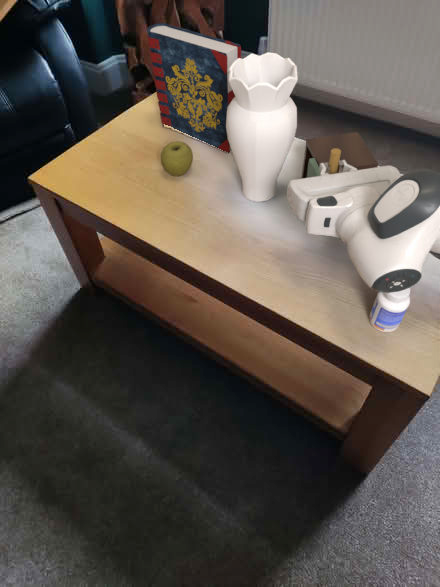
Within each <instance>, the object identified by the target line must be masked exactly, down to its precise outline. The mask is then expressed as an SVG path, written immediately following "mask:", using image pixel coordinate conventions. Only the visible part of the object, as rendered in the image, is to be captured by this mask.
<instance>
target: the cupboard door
mask: <svg viewBox="0 0 440 587" xmlns="http://www.w3.org/2000/svg"><path fill="white" fill-rule="evenodd" d="M340 155H341V150H340V149H337V148H334V149H332V150H331V154H330V159H329V165H330V167H331V168H330V170H329V171H330V173H329V174H336V173H337V169H338V164H339V159H340ZM320 174H321V173H320V171H319V166H318V164H317V162H316V160H315V158H310V159H309V163H308V170H307V177H306V178H309V177H316V176H320Z"/></svg>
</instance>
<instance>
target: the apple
mask: <svg viewBox="0 0 440 587" xmlns="http://www.w3.org/2000/svg"><path fill="white" fill-rule="evenodd" d="M193 159H194V156H193V151H192V148H191V147H190V146H189V145H188V144H187V143H185V142H182V141H172V142H169V143H167V144H165V146H164V147H163V148H162V150H161V152H160V162H161V166H162V167H163V169H164V171H165V172H166V173H168V174H169V175H170V176H173V177H180V176H184V175H185V174H187V173H188V172H189V170H190V169H191V168H192V165H193V161H194V160H193Z"/></svg>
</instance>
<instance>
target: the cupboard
mask: <svg viewBox="0 0 440 587" xmlns="http://www.w3.org/2000/svg"><path fill="white" fill-rule="evenodd" d="M304 146H305V147H304V155H303V162H302V168H301V176H300V179H302V178H306V177H307V170H308V163H309V159H310V158H315V160H316V162H317V164H318V166H319V167H320V163H326V162H328V163H329V159H330V154H331V150H332V149H334V148H337V149H340V150H341V155H340V159H339V161H340V160H345V161H346V163H347V164H348V165H351V166H353V167H355V168H357V170H362V169H369V168H375V167H379V162H378V161H377V158H376V157H375V156H374V154H373V153H372V151H371V150H370V149H369V147H368V145H367V144H366V143H365V141H364V140H363V137H361V135H360V133H359V132H358V131H355V132H349V133H341V134H333V135H328V136H320V137H314V138H313V137H312V138H307V139H305V145H304ZM337 173H338V172H337Z"/></svg>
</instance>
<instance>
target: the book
mask: <svg viewBox="0 0 440 587" xmlns="http://www.w3.org/2000/svg"><path fill="white" fill-rule="evenodd" d="M146 32H147V33H146V38H147V44H148V47H149V49H148V50H149V51H148V52H149V57H150V61H151V68H152V73H153V75H154V76H153V80H154V86H155V88H156V89H155V92H156V97H157V100H158V101H157V104H158V110H159V116H160V121H161V123H162V125H163V124H165V125H168V126H171V127H173V128H174V129H177V130H179V131H181V132H183V133H186V134H188V135H190V136H192V137H195V138H197V139H199V140H201V141H204V142H206V143H208V144H210V145H213V146H215V147H217V148H219V149H221V150H223V151H222V152H224V151H226V152H225V153H227V152H228V153H227V154H230V153H231V147H230V144H229V141H228V137H227V130H226V118H227V108H228V106H229V104H230V103H231V101H232V100H233V98H234V97H235V94H234V92H233V90H232V87H231V85H230V83H229V74H228V72H227V71H228V70H229V68H230V67H231V65H232V64H233V62H234V61H236V60H237V59H238V58H241V59H242V47H241V44H240V43H236V42H234V41H233V42H232V41H230V40H227V39H222V38H218V37H215V36H211V35H207V34H204V33H200V32H196V31H193V30H190V29H186V28H183V27H178V26H176V25H172V24H169V23H167V22H161V23H160V22H159V23H154V24H151V25H149V26H148V27H147V28H146ZM210 145H209V146H210ZM215 147H214V148H215ZM217 148H216V149H217ZM219 149H218V150H219ZM221 150H220V151H221ZM229 152H230V153H229Z"/></svg>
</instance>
